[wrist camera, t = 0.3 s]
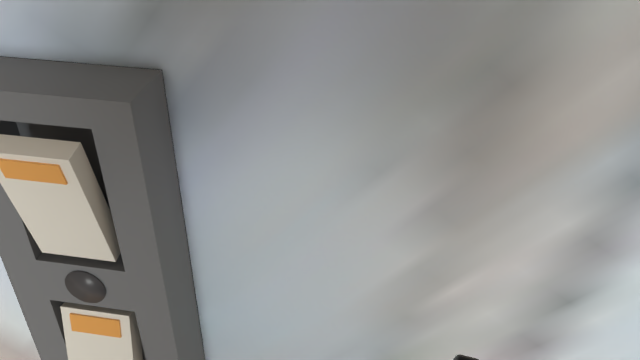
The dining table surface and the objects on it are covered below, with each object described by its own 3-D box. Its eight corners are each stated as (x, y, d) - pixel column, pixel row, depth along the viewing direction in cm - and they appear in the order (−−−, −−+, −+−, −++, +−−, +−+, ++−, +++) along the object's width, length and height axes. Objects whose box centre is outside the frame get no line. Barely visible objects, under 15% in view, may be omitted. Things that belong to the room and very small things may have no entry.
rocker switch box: (207, 379, 35) (190, 426, 32) (83, 360, 36) (57, 404, 33) (161, 70, 24) (129, 104, 21) (-17, 55, 25) (-69, 85, 22)
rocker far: (146, 403, 32) (137, 418, 31) (84, 393, 32) (73, 408, 31) (138, 304, 29) (128, 317, 28) (71, 295, 30) (59, 307, 29)
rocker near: (124, 244, 27) (114, 263, 26) (52, 235, 27) (41, 254, 27) (80, 142, 22) (67, 162, 22) (-5, 133, 23) (-21, 152, 22)
